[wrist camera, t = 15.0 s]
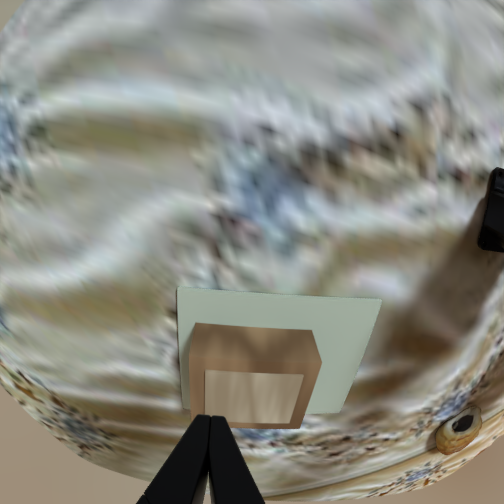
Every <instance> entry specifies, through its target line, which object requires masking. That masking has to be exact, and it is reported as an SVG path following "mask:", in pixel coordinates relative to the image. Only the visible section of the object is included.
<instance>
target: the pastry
mask: <svg viewBox="0 0 504 504" xmlns="http://www.w3.org/2000/svg"><path fill="white" fill-rule="evenodd" d="M480 412H481V409H480V408H479V407H474V406H472V407H469V408H467V409H465V410H464V411H462V412H461V413H459V414H458V415H457V416H455V417H453V418H451V419H450V420H448V421H446V422H445V423H444V424H443V425H442V426H441V427H440V428H439V429H438V431H437V432H436V438H435V439H436V446H437V448H438V450H439V451H440V452H441V453H442V454H444V455H450V454H452V453H455V452H458V451H461V450H462V449H463V448H465V447H466V446H467V445H468V444H469V443H470V442H472V441H473V440H474V438H475V437H477V435H478V434H479V430H480V429H481V426H482V419H481V415H480Z"/></svg>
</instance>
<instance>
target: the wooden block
mask: <svg viewBox="0 0 504 504" xmlns="http://www.w3.org/2000/svg"><path fill="white" fill-rule="evenodd" d="M321 365H322V360H321V357H320V354H319V351H318V348H317V345H316V341H315V338H314V335H313V332H312V330H302V329H279V328H261V327H246V326H232V325H219V324H208V323H197V322H196V323H195V328H194V333H193V338H192V343H191V347H190V352H189V382H190V407H191V423H192V421H193V420H194V418H195V416H196V415H197V414H207V415H210V416H212V415H219V416H224V417H225V418H226V420H227V422H228V424H229V427H230V428H252V429H300V426H301V423H302V421H303V418H304V415H305V412H306V410H307V407H308V404H309V401H310V398H311V395H312V392H313V389H314V386H315V383H316V380H317V377H318V374H319V371H320V368H321Z"/></svg>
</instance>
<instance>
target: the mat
mask: <svg viewBox="0 0 504 504" xmlns="http://www.w3.org/2000/svg"><path fill="white" fill-rule="evenodd" d="M381 303H382V301H381V300H380V299H369V298H342V297H320V296H301V295H283V294H267V293H252V292H238V291H225V290H213V289H201V288H189V287H178V288H177V309H178V339H179V360H180V377H181V391H182V404H183V409H190V410H191V407H190V382H189V352H190V347H191V343H192V338H193V333H194V328H195V323H196V322H197V323H208V324H219V325H232V326H246V327H261V328H279V329H302V330H312V332H313V335H314V338H315V341H316V345H317V348H318V351H319V354H320V357H321V360H322V365H321V368H320V371H319V374H318V377H317V380H316V383H315V386H314V389H313V392H312V395H311V398H310V401H309V404H308V407H307V410H306V412H305V414H318V413H337V412H340V411H341V408H342V406H343V404H344V402H345V399H346V397H347V395H348V392H349V390H350V388H351V385H352V383H353V380H354V378H355V376H356V373H357V371H358V368H359V366H360V363H361V360H362V358H363V355H364V352H365V350H366V347H367V344H368V342H369V339H370V336H371V333H372V330H373V327H374V325H375V322H376V319H377V316H378V313H379V309H380V306H381Z"/></svg>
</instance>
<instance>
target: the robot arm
mask: <svg viewBox="0 0 504 504" xmlns="http://www.w3.org/2000/svg"><path fill="white" fill-rule="evenodd" d="M483 242H484V243H483ZM478 246H479V248H481V249H483V250H489V251H496V252H503V253H504V169H502V168H499V167H496V168H495V169H494V173H493V178H492V184H491V189H490V194H489V199H488V204H487V208H486V213H485V217H484V221H483V225H482V229H481V232H480V236H479V240H478ZM208 472H209V486H210V496H211V504H265V502H264V500H263V498H262V496H261V494H260V492H259V490H258V488H257V486H256V483H255V481H254V479H253V477H252V475H251V473H250V471H249V469H248V467H247V465H246V462H245V460H244V458H243V456H242V454H241V452H240V449H239V447H238V445H237V443H236V440H235V438H234V436H233V434H232V431H231V429H230V427H229V424H228V422H227V420H226V418H225V417H224V416H219V415H212V416H210V415H207V414H197V415H196V416H195V418H194V420H193V421H192V423H191V424H190V426H189V427H188V429H187V430H186V432H185V433H184V435H183V436H182V438H181V439H180V441H179V442H178V444H177V445H176V447H175V448H174V450H173V451H172V453H171V454H170V456H169V457H168V459H167V460H166V461H165V463H164V464H163V466H162V467H161V469H160V470H159V472H158V473H157V475H156V476H155V477H154V479H153V480H152V482H151V483H150V485H149V486H148V488H147V489H146V490H145V492H144V495H142V496H141V497H140V499H139V500H138V502H137V503H136V504H203V500H204V495H205V490H206V485H207V480H208Z"/></svg>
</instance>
